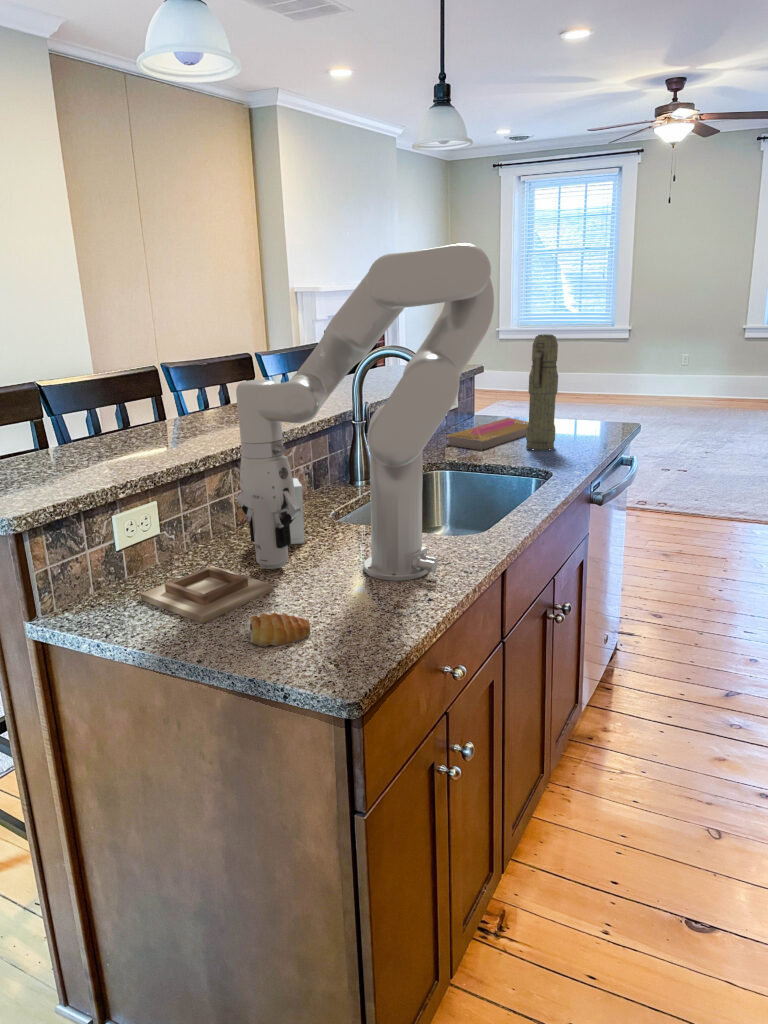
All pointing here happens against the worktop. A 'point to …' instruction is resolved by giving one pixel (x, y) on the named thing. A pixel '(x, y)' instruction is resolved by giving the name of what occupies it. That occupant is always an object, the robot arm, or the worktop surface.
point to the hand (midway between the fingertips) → (270, 542)
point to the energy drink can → (266, 535)
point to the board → (206, 593)
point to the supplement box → (298, 516)
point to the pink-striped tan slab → (489, 434)
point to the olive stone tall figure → (542, 393)
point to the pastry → (277, 629)
